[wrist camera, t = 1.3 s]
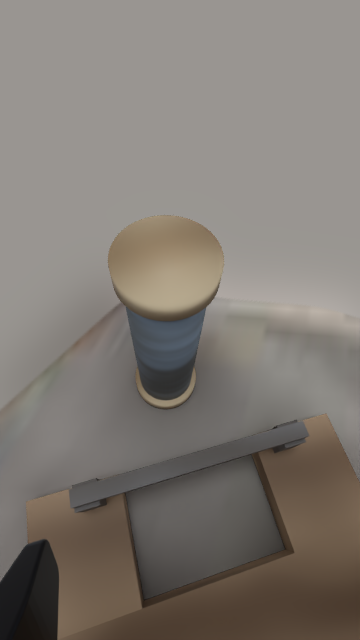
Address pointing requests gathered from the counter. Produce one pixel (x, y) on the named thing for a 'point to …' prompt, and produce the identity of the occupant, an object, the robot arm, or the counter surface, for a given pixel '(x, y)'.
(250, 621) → the board
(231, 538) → the counter surface
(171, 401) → the spool
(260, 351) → the counter surface
